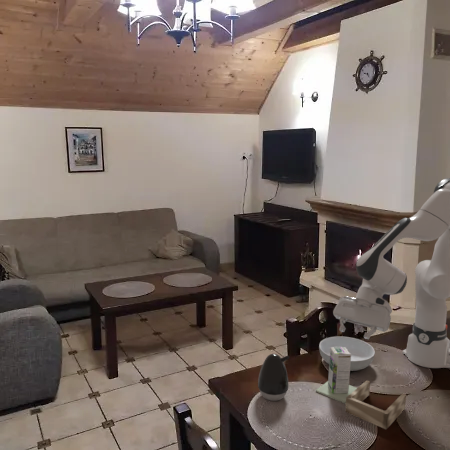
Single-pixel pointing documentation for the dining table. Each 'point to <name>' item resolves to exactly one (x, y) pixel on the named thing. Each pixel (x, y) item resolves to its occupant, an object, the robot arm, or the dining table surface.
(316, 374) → the dining table surface
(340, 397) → the sage mat
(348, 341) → the serving bowl
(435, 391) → the dining table surface
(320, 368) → the dining table surface
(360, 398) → the holder bay
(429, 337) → the robot arm
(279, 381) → the pump dispenser
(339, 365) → the syrup box
